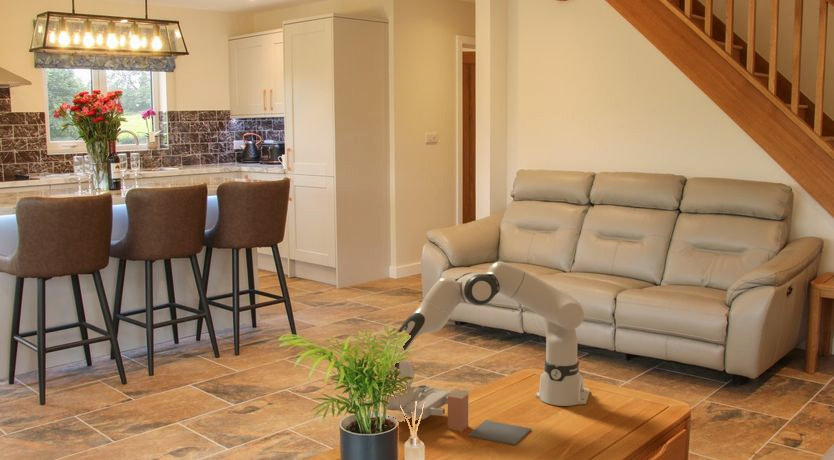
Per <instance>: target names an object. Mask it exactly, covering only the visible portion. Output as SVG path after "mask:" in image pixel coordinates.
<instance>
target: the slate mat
mask: <svg viewBox="0 0 834 460" xmlns="http://www.w3.org/2000/svg"><path fill="white" fill-rule="evenodd" d="M531 431H532V428H531V427H525V426H519V425H513V424H509V423H503V422H498V421H494V420H493V421H492V420H488V419H485V420H484V421H483V422H481V423H480V424H479V425H478V426H477V427H475V428H474V429H473V430H471V431H470V432H469V433H468V434H467V436H468V437H472V438H476V439H482V440H486V441H490V442H497V443H502V444H505V445H506V444H507V445H511V446H517V445H518V443H520V442H521V441H522V440H523V439H524V438H525V437H526V436H527V435H528V434H529V433H530V432H531Z"/></svg>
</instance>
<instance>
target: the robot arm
mask: <svg viewBox="0 0 834 460" xmlns="http://www.w3.org/2000/svg"><path fill="white" fill-rule="evenodd" d="M497 294H501V295H503V296H505V297H507V298H509V299H510V300H512V301H514V302H516V303H518V304H520V305H522V306H523V307H525V308H527V309H528V310H530V311H532V312H533V313H535V314H537V315H539V316H541V317H542V318H543V322H544V330H545V341H546V342H545V360H544V363H543V364H544V365H543V368H544V371H543V372H542V374H540V376H539V377H540V378H539V390H538V391H537V392H535V394H534V395H535V397H537V398H538V399H540V401H542V402H543V403H545V404H548V405H552V406H558V407H559V406H561V407H564V406H565V407H569V406H576V405H586V404H587V402H588V400H589V399H588V398H589V395H590V388H588V387H585V386H584V381H585V379H584V376H583V375H581V373H580V372H579V371H580V369H579V368H580V362H581V361H580V359H578V343H579V342H578V338H577V332H576V329H577V328H579V327H580V326H581V325H582V323H583V321H584V319H585V313H584V308H583V307H582V304H581V303H580V302H579V301H578V300H577V299H575V298H574V297H573V296H572V295H570V294H569V293H568V292H566V291H564V290H560V289H557V287H556V288H555V287H554V286H552V285H551V284H549V283H547V282H546V281H544V280H542V279H540V278H539V277H536V276H535V275H533V274H531V273H530V272H527V271H525V270H524V269H522V268H520V267H518V266H516V265H513V264H510V263H507V262H504V261H500V260H499V261H495V262H494V263H492V264H491V265H490V266H489V267H488V270H487V271H486V272H484V273H481V272H480V273H479V272H467V273H465V274H463V275H461V276H459V277H457V278H455V279H454V278H452V277H448V276H447V277H446V276H444V277H440V278H439V279H438V280H437V281H436V282H435V283H434V284H433V286H432V287H431V288H430V289H429V290H428V292H427V293H426V295H425V296H424V299H422V301H421V302H420V304H419V306H418V307H417V308H416V310H415V311H414V312H413V313H412V314H410V315H409V317H408V318H407V319H406V320H405V321H404V323H402V325H401V326H400V327H399V329H398V330H397V332H402V331H403V330H405V331H406V332H407V333H408V334H409V335H411V338H410V339H409V340H408V341H407V342H406V343H405V345H404V346H403V348H404V350H409V348H410V346H411V345H412V344H413V343H414V341H415V340H416V339H417V338H418V337H419V336H422V335H424V334H428V333H435V332H438V331H440V330H442V328H443V327H444V326H446V324H447V322H448V321H449V319H450V318H451V315H453V313H454V311H455V309H456V307H458V306H459V305H460V304H461V303H463V302H466V303H468V304H470V305H474V306H485V305H486V304H489V303H490V302H491V301H492V300H493V299H494V298H495V297H496V295H497ZM413 365H414V364H412V362H411V361H409V360H407V359H405V361H402V362H399V363H396V364H395V367H397V368H398V369H399V371H400V372H401V374H400V375H399V378H402V377H406V376H411V377H412V380H411V381H410V382H409V383H406V386H407V390H408V394H407V393H406V390H402V393H403V395H401V394H400V393H395V396H396V398H397V399H398V400H396V399H394V398H393V397H391V398H390V399H389V406H388V407H387V409H386V410H388V411H399V412H400V413H403V412H402V410H401V408H400V405H401V407H402V409H403V411H404V414H406V416H408V417H410V418H413V417H412V413H411V412H414V410H415V401H417V406H416V418H415V419H417V420H425V419H427V418H428V417H431V416H438V415H439V416H443V415H445V413H446V409H445V408H443V407H444V406H445V405H448V393H449V392H450V391H448V390H446V389H442V388H438V387H430V385H429V384H428V385H427V384H422V385H419V386H411V385H412V382H413V380H414V376H415V368H414V366H413ZM424 402H425V403H424ZM423 403H424V408H423V414H422V418H421V419H419V417H420V415H421V413H422V407H423Z"/></svg>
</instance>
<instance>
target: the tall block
mask: <svg viewBox="0 0 834 460" xmlns="http://www.w3.org/2000/svg"><path fill="white" fill-rule="evenodd" d="M468 427H469V391H468V390H465V389H459V388H453V389H452V390H451V391H449V393H448V404H447V429H448V430H452V431H458V432H463V431H464V430H466V429H467V428H468Z"/></svg>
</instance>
